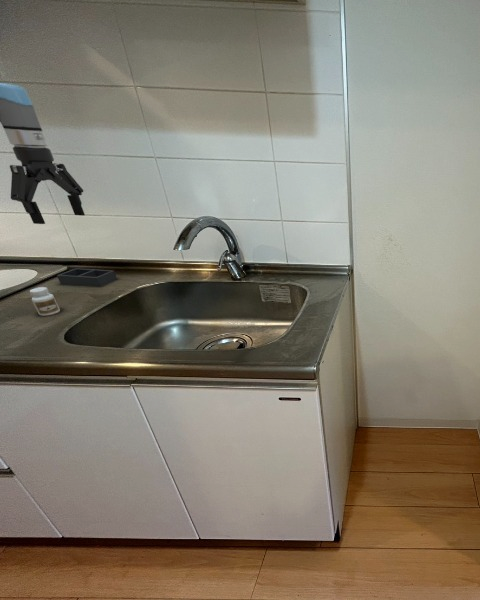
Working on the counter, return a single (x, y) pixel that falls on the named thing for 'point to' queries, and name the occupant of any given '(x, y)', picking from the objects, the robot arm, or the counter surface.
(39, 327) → the counter surface
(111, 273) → the grey divided tray
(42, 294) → the pill bottle
